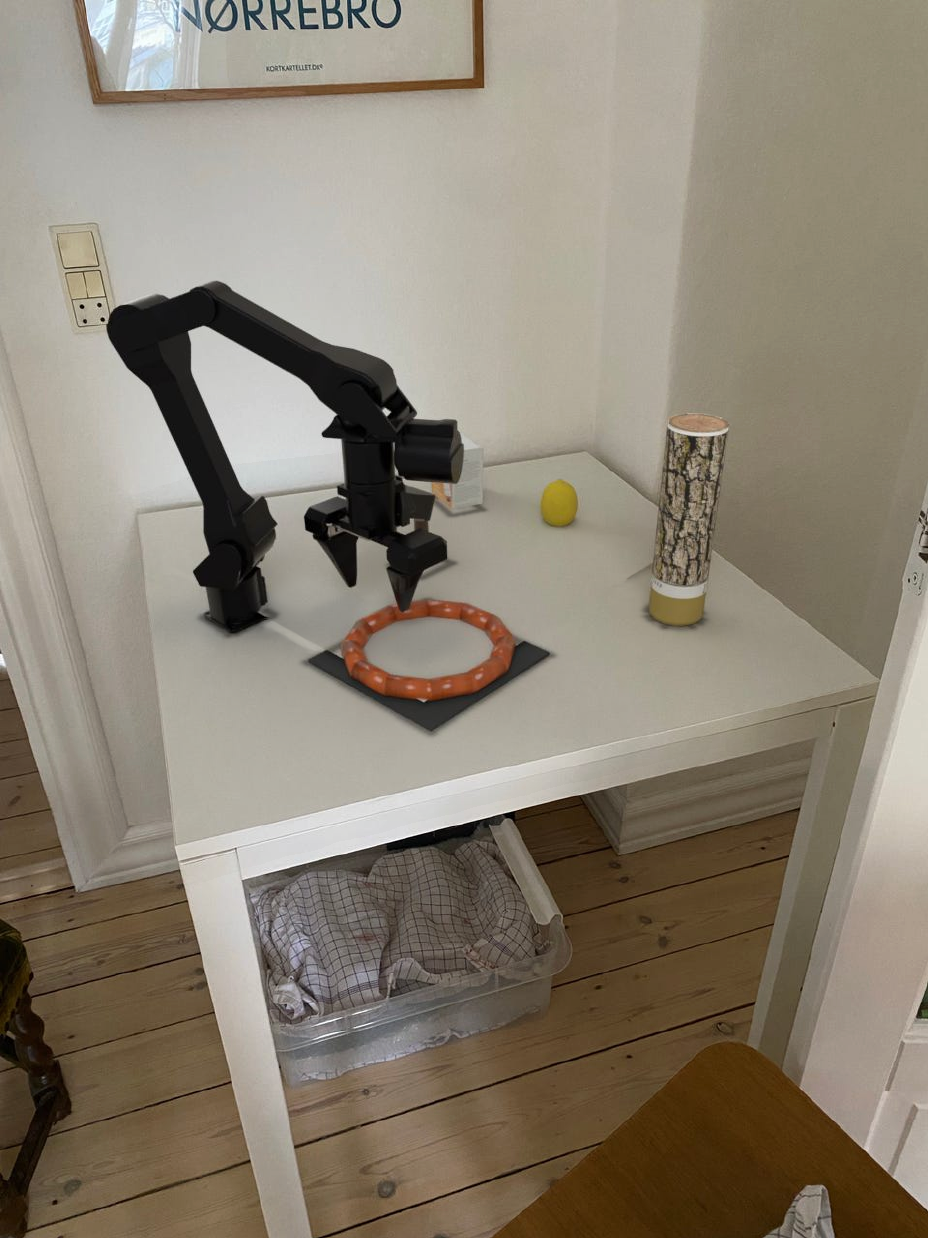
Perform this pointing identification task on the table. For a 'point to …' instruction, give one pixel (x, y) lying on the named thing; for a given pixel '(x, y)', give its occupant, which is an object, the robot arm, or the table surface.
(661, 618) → the paper tube
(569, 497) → the lemon
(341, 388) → the robot arm
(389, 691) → the ring
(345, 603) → the table surface
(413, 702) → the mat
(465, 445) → the small box
